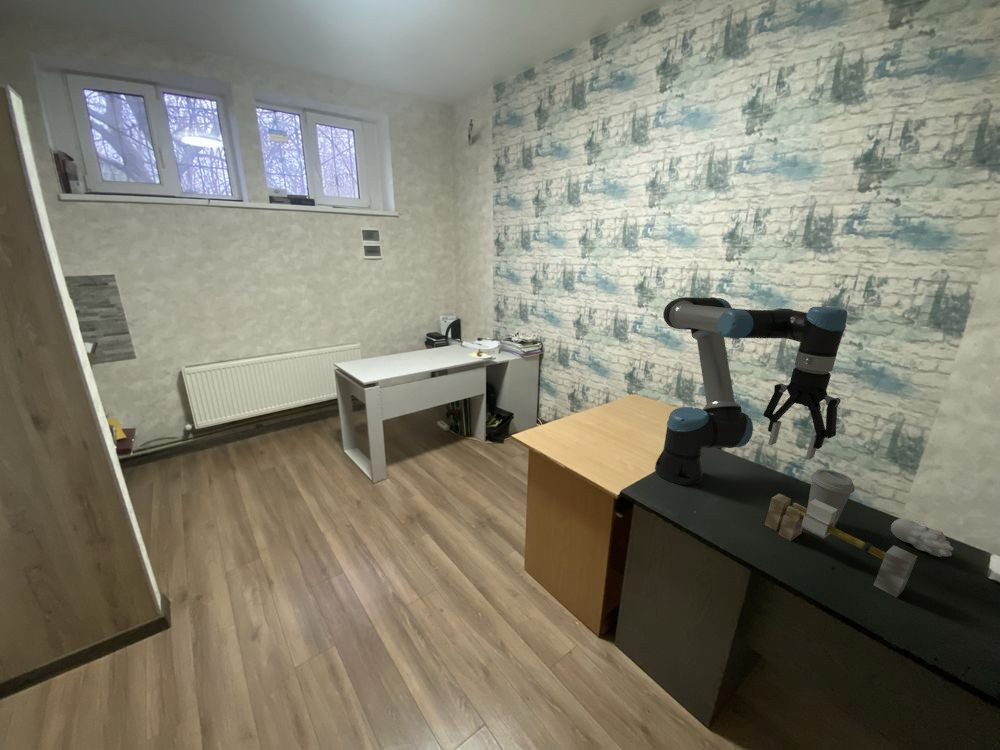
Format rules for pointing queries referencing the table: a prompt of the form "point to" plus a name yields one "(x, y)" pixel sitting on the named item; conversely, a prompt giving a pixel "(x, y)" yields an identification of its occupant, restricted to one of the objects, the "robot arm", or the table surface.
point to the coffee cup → (831, 489)
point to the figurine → (922, 537)
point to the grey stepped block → (819, 518)
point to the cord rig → (894, 560)
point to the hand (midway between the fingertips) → (790, 450)
